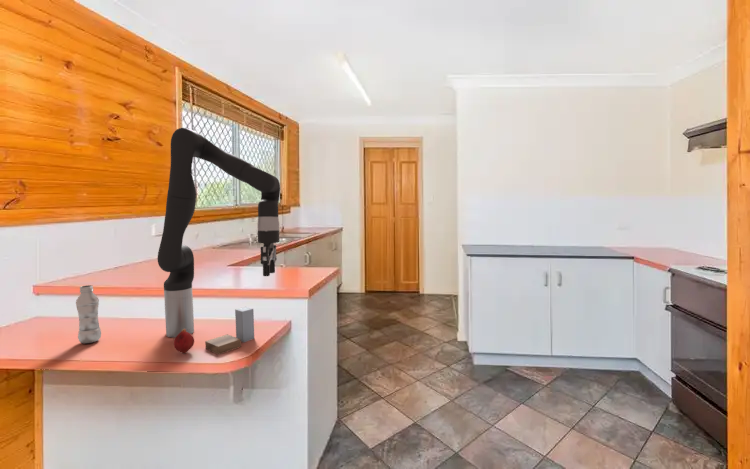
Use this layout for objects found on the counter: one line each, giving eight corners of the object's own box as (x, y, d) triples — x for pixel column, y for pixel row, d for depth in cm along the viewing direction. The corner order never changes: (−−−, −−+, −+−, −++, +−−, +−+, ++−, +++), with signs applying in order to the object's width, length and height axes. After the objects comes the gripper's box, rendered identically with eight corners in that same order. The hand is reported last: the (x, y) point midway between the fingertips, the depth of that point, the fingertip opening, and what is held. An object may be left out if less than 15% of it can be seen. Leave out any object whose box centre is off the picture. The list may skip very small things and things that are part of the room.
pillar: (236, 339, 128) (235, 309, 127) (247, 336, 132) (246, 306, 131) (243, 342, 126) (242, 311, 125) (254, 338, 129) (253, 308, 128)
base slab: (205, 350, 120) (205, 341, 120) (227, 342, 127) (227, 334, 126) (218, 355, 115) (218, 346, 115) (240, 347, 122) (240, 339, 122)
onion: (185, 357, 113) (184, 332, 113) (170, 356, 114) (168, 331, 114) (198, 350, 119) (197, 326, 118) (183, 349, 120) (182, 325, 119)
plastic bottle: (100, 337, 131) (96, 283, 130) (103, 342, 127) (99, 286, 125) (77, 342, 127) (73, 286, 125) (79, 347, 122) (75, 289, 121)
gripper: (262, 229, 136) (263, 272, 136) (252, 229, 122) (253, 277, 122) (282, 229, 137) (283, 272, 137) (275, 229, 122) (275, 277, 123)
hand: (269, 274), depth 129 cm, fingers open, 8 cm apart
